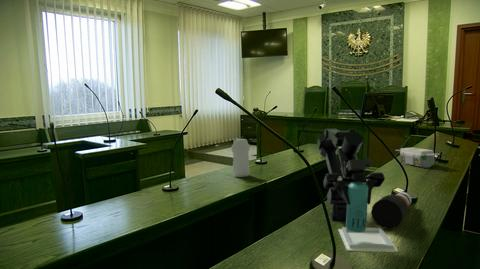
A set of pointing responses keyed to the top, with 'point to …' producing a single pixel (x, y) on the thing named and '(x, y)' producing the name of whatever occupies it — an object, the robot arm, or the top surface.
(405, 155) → the electrical outlet
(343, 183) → the robot arm
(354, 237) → the white square tray
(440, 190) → the top surface
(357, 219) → the beverage bottle
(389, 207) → the black cylinder
